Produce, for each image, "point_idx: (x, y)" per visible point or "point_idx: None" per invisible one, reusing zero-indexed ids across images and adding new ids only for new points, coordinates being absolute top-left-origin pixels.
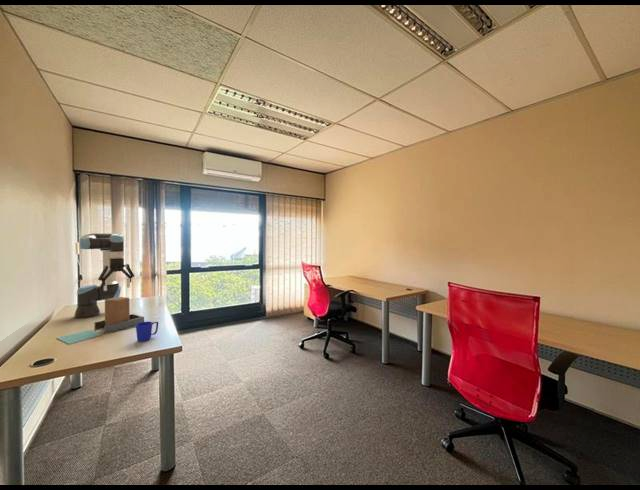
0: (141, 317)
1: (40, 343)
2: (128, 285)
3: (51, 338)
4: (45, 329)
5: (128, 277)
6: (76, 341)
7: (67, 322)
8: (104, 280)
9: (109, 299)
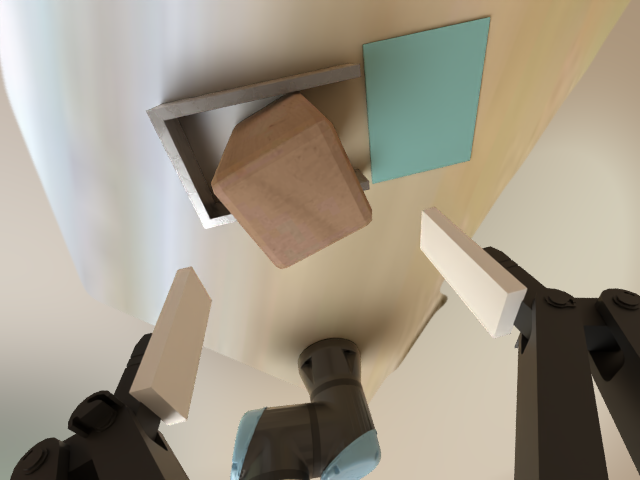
0: (162, 110)
1: (514, 135)
2: (189, 291)
3: (474, 173)
4: (441, 284)
5: (156, 428)
6: (461, 28)
7: (384, 318)
8: (548, 294)
9: (352, 207)
